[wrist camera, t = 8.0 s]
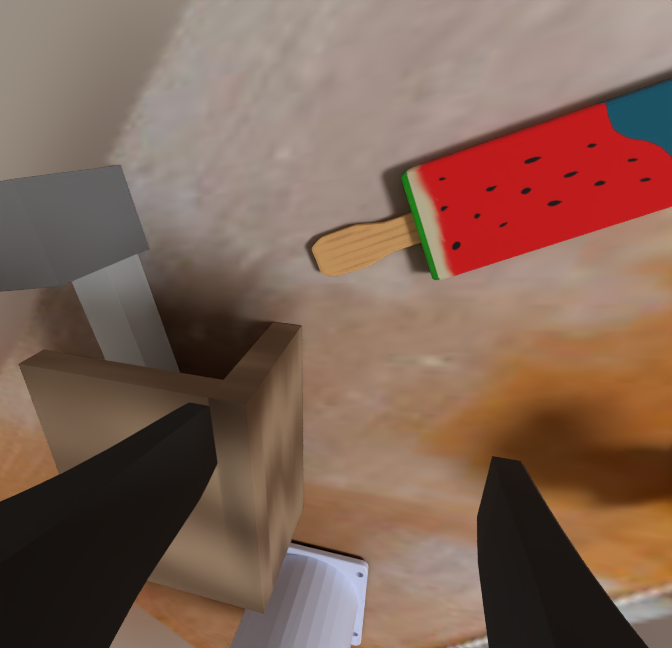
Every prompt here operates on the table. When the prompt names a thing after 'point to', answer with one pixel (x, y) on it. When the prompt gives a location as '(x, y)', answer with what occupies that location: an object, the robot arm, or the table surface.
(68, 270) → the hammer
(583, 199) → the popsicle
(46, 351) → the wooden corner piece
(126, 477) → the robot arm
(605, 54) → the table surface
